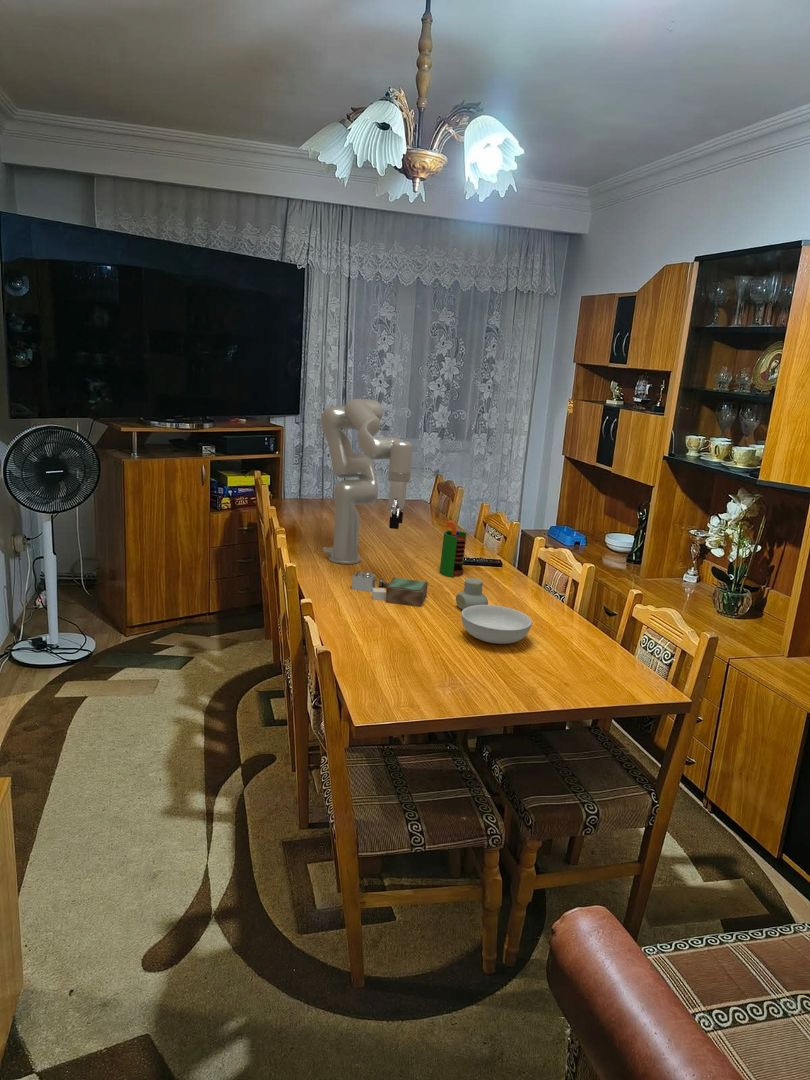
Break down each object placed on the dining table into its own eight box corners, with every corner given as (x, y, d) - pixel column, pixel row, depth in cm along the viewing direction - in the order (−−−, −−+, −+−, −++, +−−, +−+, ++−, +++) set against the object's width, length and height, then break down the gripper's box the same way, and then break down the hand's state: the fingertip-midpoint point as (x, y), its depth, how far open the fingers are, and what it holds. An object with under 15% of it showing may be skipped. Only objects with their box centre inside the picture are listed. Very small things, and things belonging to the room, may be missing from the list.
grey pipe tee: (452, 604, 249) (455, 576, 247) (474, 603, 252) (477, 575, 250) (467, 616, 239) (470, 586, 237) (489, 614, 243) (493, 585, 240)
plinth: (385, 602, 246) (386, 586, 245) (392, 591, 258) (393, 576, 256) (421, 606, 244) (422, 591, 243) (426, 595, 256) (427, 581, 255)
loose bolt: (378, 587, 261) (379, 580, 260) (380, 585, 264) (380, 578, 263) (395, 589, 260) (395, 582, 260) (396, 587, 263) (397, 580, 262)
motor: (461, 578, 279) (466, 526, 274) (437, 575, 281) (442, 523, 276) (464, 571, 289) (469, 521, 284) (441, 568, 290) (446, 518, 286)
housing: (351, 589, 256) (352, 573, 255) (355, 585, 261) (356, 569, 260) (371, 592, 255) (372, 575, 254) (374, 588, 260) (375, 571, 259)
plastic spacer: (373, 600, 247) (374, 592, 246) (371, 596, 251) (372, 588, 250) (385, 600, 248) (386, 592, 247) (383, 596, 252) (384, 588, 251)
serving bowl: (484, 655, 209) (486, 632, 207) (446, 629, 227) (448, 607, 225) (543, 647, 218) (546, 625, 217) (502, 622, 236) (505, 602, 235)
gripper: (392, 472, 264) (388, 519, 268) (384, 479, 248) (381, 529, 252) (413, 474, 263) (409, 521, 267) (407, 481, 247) (403, 532, 251)
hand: (395, 525), depth 260 cm, fingers open, 9 cm apart
